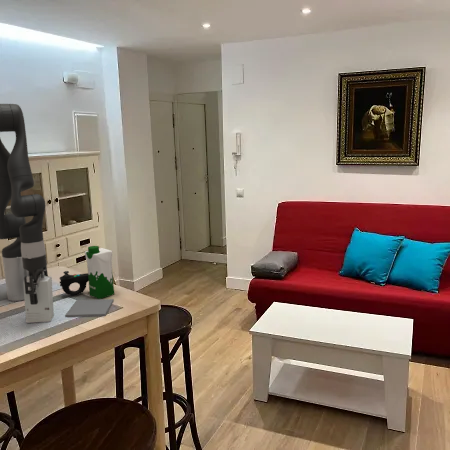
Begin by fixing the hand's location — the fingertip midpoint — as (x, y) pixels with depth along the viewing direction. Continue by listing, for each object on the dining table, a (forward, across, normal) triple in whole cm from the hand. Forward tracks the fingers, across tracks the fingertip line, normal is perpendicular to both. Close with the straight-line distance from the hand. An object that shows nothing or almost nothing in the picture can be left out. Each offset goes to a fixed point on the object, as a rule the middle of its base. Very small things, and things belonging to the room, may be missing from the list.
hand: (39, 299), depth 156 cm
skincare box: (+8, 0, 0) cm, 8 cm away
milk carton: (+7, -22, +16) cm, 28 cm away
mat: (+7, -8, +15) cm, 19 cm away
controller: (+7, -23, +6) cm, 25 cm away
